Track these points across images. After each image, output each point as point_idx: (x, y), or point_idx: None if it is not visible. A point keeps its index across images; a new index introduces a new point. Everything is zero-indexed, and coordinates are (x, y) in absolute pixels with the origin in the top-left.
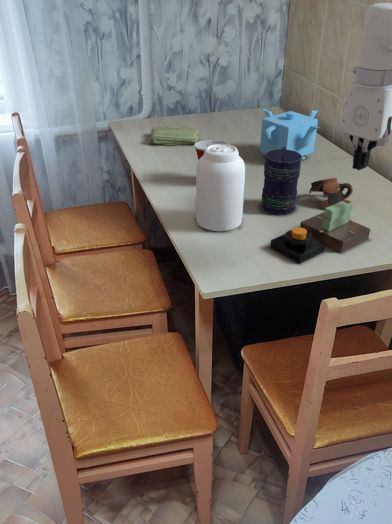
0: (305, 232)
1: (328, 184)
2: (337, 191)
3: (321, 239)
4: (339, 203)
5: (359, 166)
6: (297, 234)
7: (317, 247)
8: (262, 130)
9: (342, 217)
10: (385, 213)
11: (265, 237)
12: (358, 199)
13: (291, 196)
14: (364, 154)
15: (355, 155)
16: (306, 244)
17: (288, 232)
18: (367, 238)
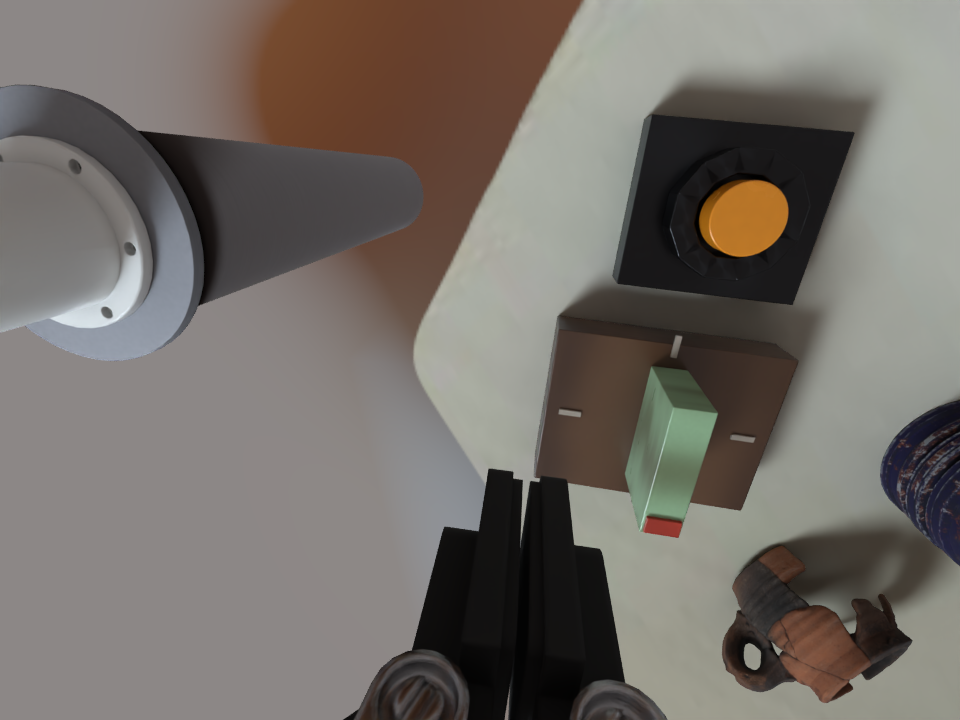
0: (712, 224)
1: (830, 648)
2: (773, 634)
3: (661, 333)
4: (683, 492)
5: (484, 497)
6: (739, 182)
7: (628, 236)
8: None
9: (640, 454)
10: None
11: (897, 203)
12: (700, 658)
13: (949, 493)
14: (440, 639)
15: (562, 591)
16: (672, 196)
17: (799, 206)
18: (535, 452)
